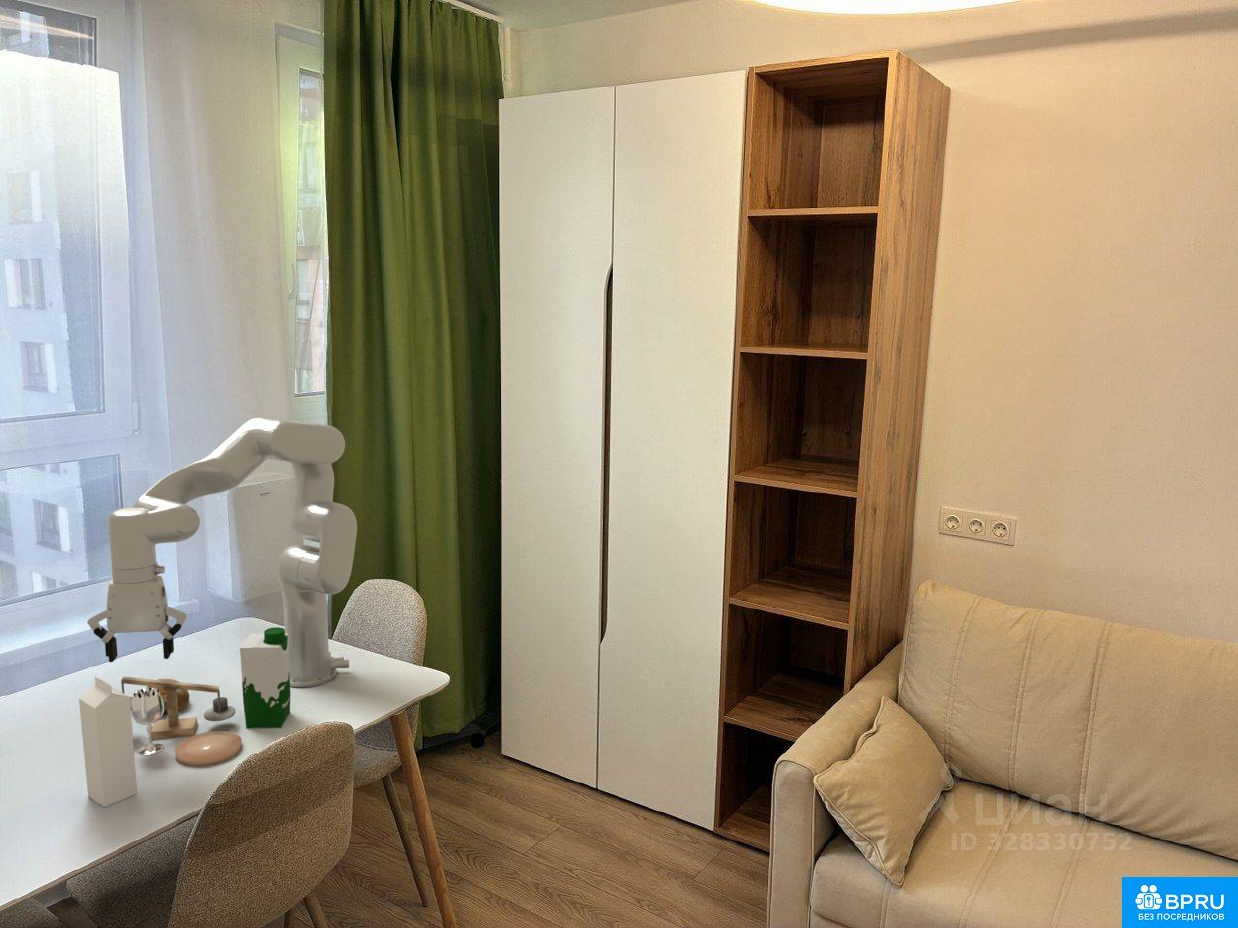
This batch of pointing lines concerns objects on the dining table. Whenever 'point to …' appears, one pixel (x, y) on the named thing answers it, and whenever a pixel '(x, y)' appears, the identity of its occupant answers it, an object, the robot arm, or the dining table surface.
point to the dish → (208, 748)
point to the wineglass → (148, 714)
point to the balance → (174, 724)
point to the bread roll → (181, 697)
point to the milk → (108, 744)
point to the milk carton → (266, 678)
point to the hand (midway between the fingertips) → (140, 657)
